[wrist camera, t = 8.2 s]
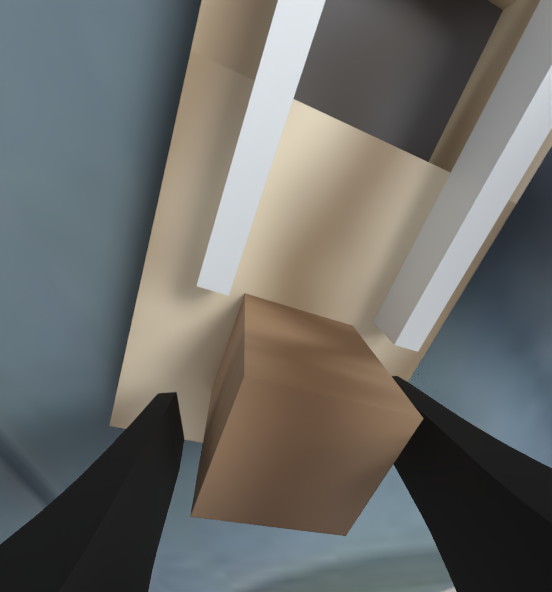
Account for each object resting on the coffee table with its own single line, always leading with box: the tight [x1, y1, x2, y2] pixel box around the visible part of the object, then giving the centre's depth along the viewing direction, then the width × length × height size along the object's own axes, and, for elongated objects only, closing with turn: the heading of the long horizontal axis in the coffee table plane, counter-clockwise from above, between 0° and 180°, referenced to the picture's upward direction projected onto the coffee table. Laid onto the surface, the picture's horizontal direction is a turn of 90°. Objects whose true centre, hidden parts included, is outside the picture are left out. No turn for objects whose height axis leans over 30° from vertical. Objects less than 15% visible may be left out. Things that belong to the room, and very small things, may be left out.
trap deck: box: [109, 0, 552, 443], centre depth 11 cm, size 12×22×2 cm, turn 160°
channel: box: [197, 0, 552, 352], centre depth 8 cm, size 8×13×2 cm, turn 160°
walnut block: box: [190, 293, 423, 536], centre depth 10 cm, size 5×5×5 cm
